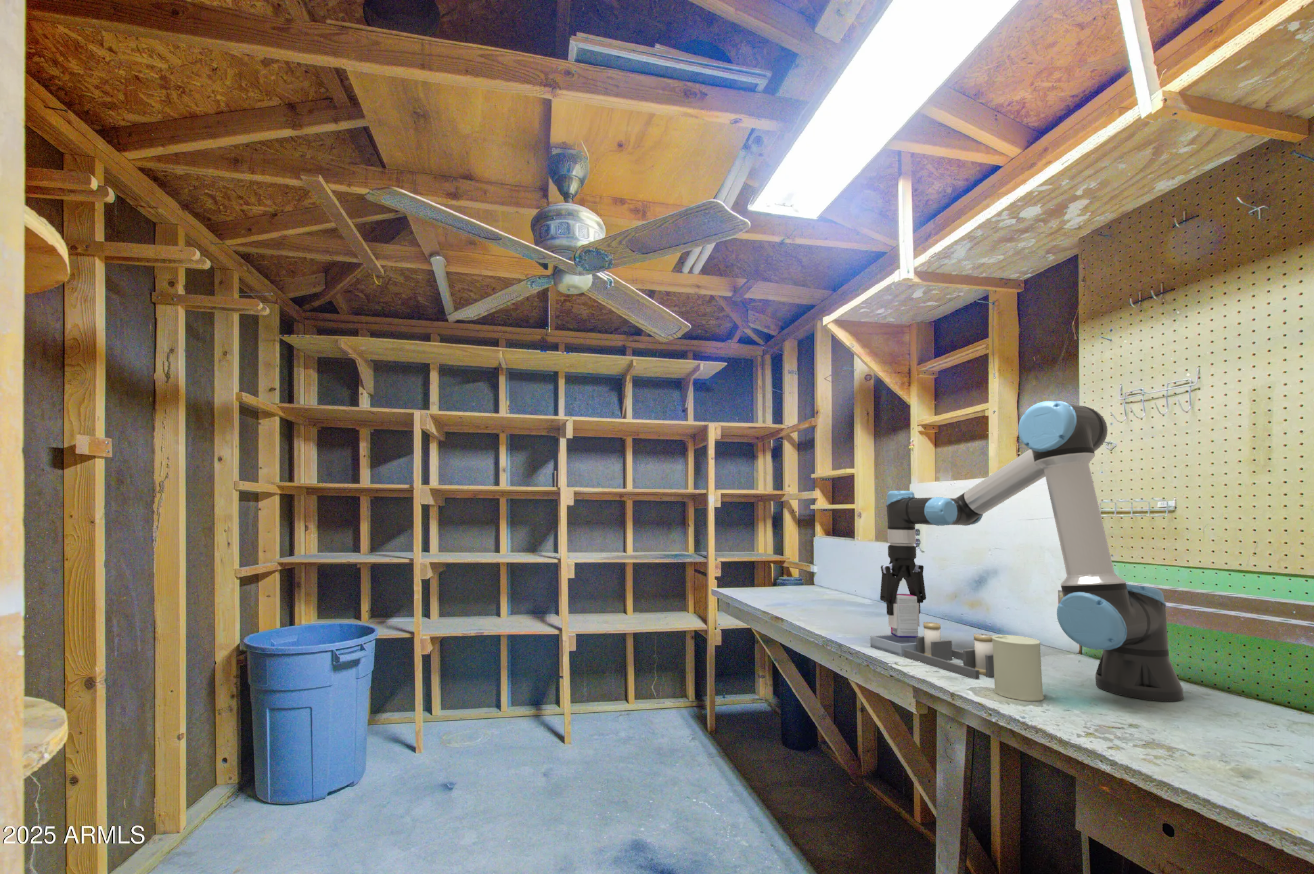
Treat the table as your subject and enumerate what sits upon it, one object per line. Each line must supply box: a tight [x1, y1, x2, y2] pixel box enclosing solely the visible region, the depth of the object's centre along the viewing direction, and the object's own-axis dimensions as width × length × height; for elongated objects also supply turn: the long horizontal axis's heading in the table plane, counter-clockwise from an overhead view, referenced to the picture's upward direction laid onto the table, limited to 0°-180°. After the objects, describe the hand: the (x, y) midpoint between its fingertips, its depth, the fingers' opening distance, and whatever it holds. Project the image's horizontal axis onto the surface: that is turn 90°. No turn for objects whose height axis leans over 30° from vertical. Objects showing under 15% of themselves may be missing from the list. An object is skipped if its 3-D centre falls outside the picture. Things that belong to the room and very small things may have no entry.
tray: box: [869, 634, 921, 658], centre depth 171 cm, size 12×14×3 cm
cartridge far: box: [922, 621, 942, 656], centre depth 162 cm, size 4×4×9 cm
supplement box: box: [890, 593, 919, 638], centre depth 172 cm, size 6×6×12 cm
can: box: [992, 634, 1045, 702], centre depth 130 cm, size 9×9×12 cm
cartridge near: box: [973, 632, 993, 676], centre depth 147 cm, size 4×4×9 cm
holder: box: [903, 635, 994, 680], centre depth 154 cm, size 22×14×5 cm, turn 22°
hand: (904, 626), depth 171 cm, fingers closed on supplement box, 7 cm apart
